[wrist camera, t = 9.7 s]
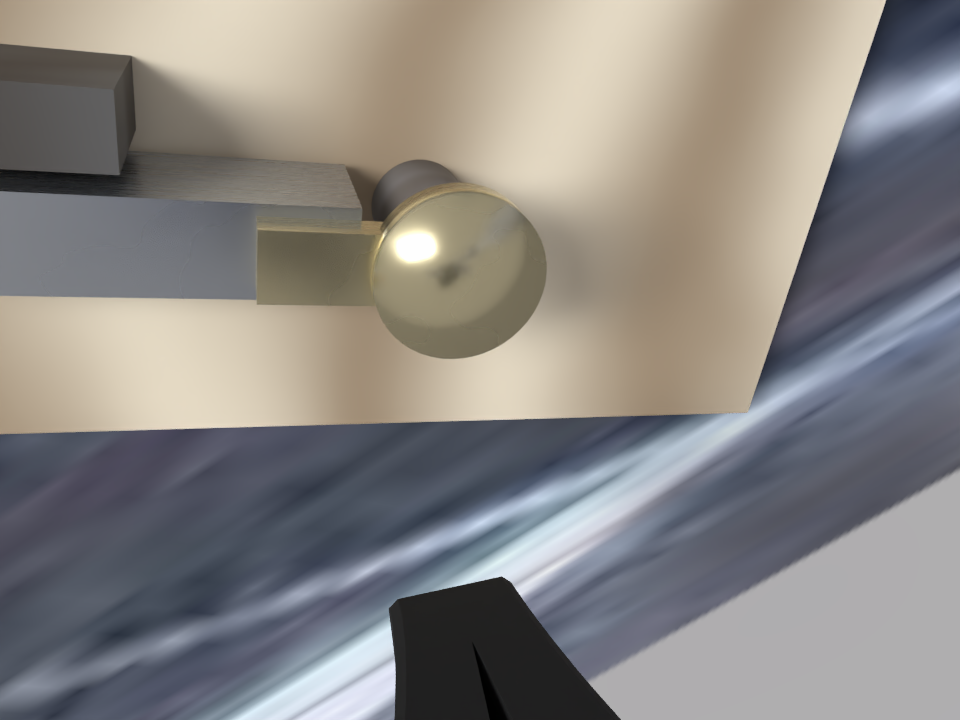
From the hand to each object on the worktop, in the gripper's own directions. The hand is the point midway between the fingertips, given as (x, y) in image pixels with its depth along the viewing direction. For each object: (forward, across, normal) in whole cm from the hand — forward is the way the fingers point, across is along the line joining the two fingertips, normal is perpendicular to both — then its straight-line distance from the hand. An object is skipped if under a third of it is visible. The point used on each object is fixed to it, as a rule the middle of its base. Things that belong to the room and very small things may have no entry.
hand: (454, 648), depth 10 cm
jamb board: (+9, -2, -4) cm, 10 cm away
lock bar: (+8, +2, -3) cm, 9 cm away
